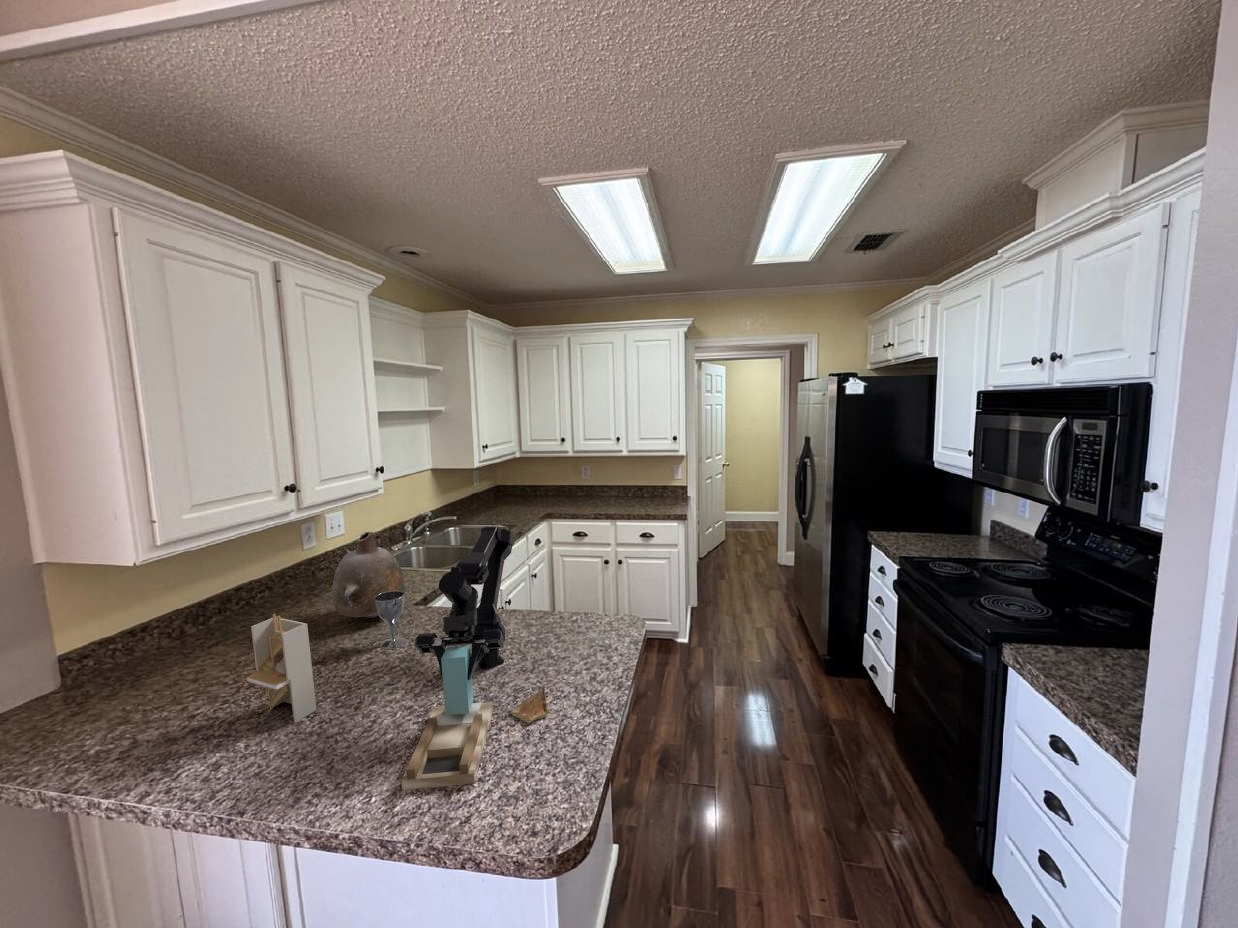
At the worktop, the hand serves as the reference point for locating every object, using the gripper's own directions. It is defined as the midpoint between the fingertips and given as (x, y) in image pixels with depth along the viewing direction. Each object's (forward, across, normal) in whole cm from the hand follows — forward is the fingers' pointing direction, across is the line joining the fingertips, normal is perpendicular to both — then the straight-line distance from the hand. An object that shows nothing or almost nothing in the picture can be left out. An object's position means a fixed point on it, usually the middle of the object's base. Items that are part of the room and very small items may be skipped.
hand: (456, 680), depth 106 cm
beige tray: (+12, 0, +3) cm, 12 cm away
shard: (+5, +15, +11) cm, 19 cm away
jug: (-35, -42, +51) cm, 75 cm away
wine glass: (-21, -28, +37) cm, 52 cm away
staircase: (0, -42, +16) cm, 44 cm away
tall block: (+4, 0, +6) cm, 7 cm away
